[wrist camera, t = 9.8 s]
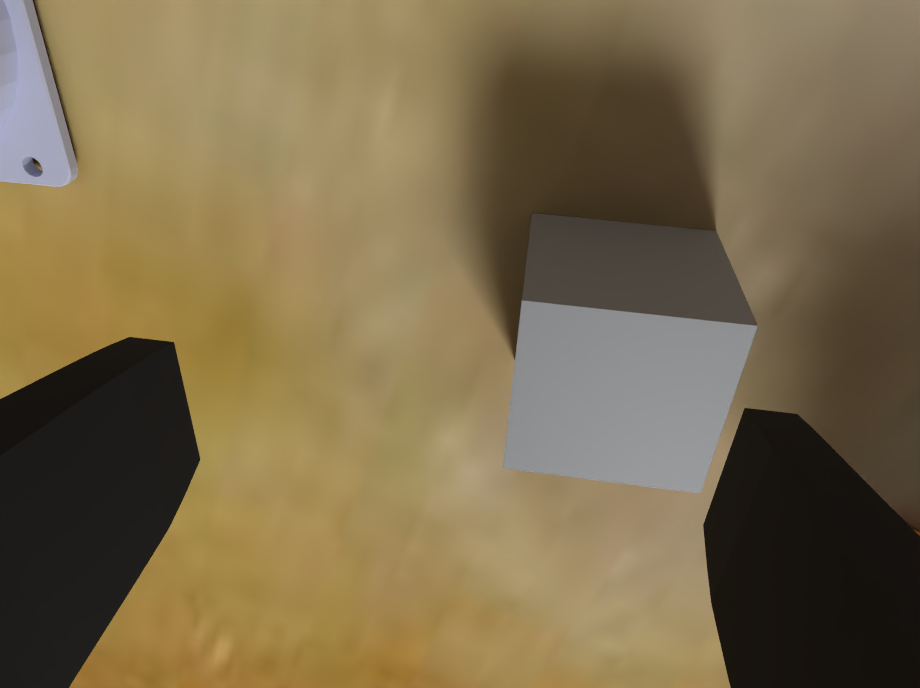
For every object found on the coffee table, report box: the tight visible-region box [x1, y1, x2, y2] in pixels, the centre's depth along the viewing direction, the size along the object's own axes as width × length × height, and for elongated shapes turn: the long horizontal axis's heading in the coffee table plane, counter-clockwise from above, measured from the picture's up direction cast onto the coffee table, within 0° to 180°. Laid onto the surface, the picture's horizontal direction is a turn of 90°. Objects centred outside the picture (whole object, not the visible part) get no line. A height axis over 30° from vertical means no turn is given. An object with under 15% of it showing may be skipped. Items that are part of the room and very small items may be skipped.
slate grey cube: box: [503, 213, 758, 494], centre depth 16 cm, size 4×4×4 cm
